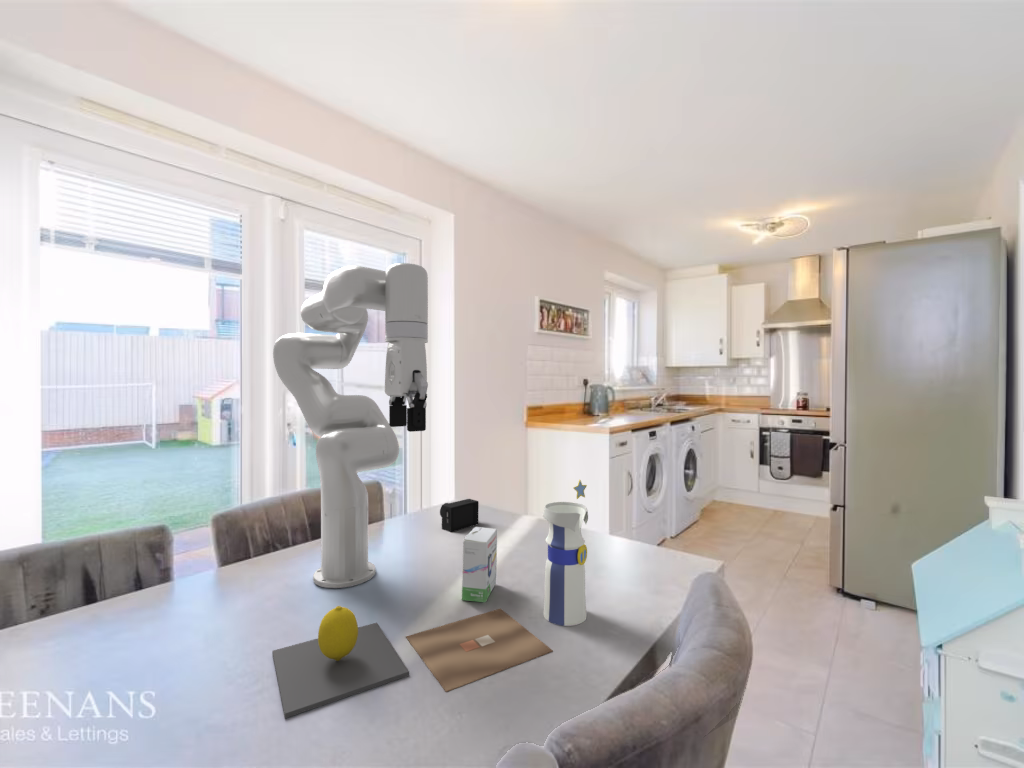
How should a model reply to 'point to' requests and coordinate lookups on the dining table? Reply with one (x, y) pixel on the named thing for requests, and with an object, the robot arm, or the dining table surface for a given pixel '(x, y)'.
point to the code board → (475, 648)
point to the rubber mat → (334, 670)
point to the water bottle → (565, 562)
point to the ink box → (479, 564)
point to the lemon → (338, 633)
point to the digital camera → (459, 515)
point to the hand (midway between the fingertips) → (406, 428)
